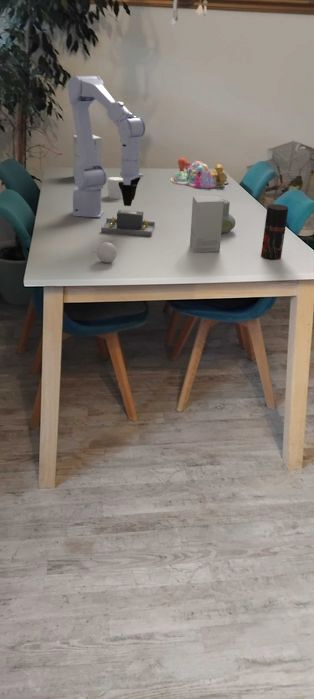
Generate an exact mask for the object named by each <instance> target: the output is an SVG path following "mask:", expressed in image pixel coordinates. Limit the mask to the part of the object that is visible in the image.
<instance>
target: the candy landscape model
mask: <svg viewBox="0 0 314 699" xmlns="http://www.w3.org/2000/svg"><path fill="white" fill-rule="evenodd" d="M177 165H178V169H179V171H174V173H173V176H171V177H170V179H169V180H170V183H171V182H172V184H175V185H179V186H180V185H182V186H188V187H191V188H195V189H196V188H197V189H214V188H223V187H225V186H226V185H225V184H228V183H229V181H228V180H227V179H228V176H227V173H226V172H225V171H224V166H223V165H222V164H220V163H216V164H215V166H214V170H212V171H211V170H210V169H209V166H208V165H207V164H206V163H203V161H201V160H200V161H198V160H195V161H194V162H193V163H192V164H191V162H190V161H188V160H187V159H186V157H180V158H179V159H178V160H177ZM185 170H186V173H184V172H185Z"/></svg>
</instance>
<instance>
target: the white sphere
mask: <svg viewBox="0 0 314 699" xmlns="http://www.w3.org/2000/svg"><path fill="white" fill-rule="evenodd" d="M117 252H118V251H117V248H116V246H115V245H114V244H113V243H111V242H107V241H106V242H102V243H100V244H99V245H98V247H97V249H96V252H95V251H94V252H92V254H94V253H96V256H97V257H98V259H99V261H101V262H103V263H105V264H108V263H112V262H113V261H114V260H116V257H117V254H118V253H117Z"/></svg>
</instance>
